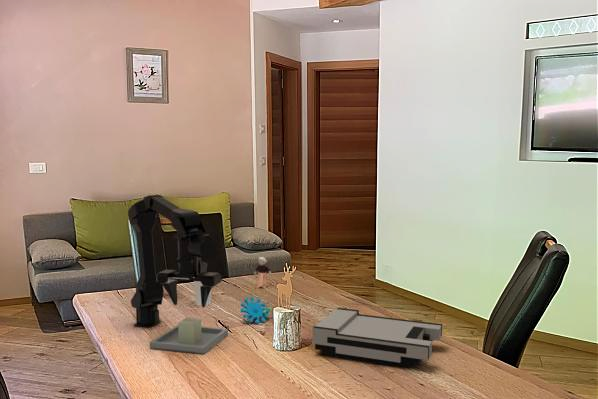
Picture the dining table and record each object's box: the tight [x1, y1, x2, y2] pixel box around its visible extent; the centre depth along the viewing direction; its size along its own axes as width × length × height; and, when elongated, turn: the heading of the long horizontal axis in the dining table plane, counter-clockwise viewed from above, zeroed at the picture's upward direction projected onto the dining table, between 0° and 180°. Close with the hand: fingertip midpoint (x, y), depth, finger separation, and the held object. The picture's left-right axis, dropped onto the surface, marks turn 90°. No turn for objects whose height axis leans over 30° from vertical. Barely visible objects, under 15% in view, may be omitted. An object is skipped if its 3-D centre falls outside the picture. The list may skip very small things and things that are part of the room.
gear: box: [239, 296, 272, 325], centre depth 194 cm, size 11×6×10 cm
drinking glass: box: [193, 281, 213, 307], centre depth 214 cm, size 7×7×10 cm
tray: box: [149, 324, 229, 356], centre depth 173 cm, size 17×17×2 cm
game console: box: [312, 307, 443, 370], centre depth 165 cm, size 21×32×8 cm, turn 66°
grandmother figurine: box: [253, 256, 272, 289], centre depth 237 cm, size 8×4×13 cm, turn 80°
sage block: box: [177, 317, 202, 344], centre depth 173 cm, size 5×5×6 cm
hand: (189, 306), depth 172 cm, fingers open, 9 cm apart
